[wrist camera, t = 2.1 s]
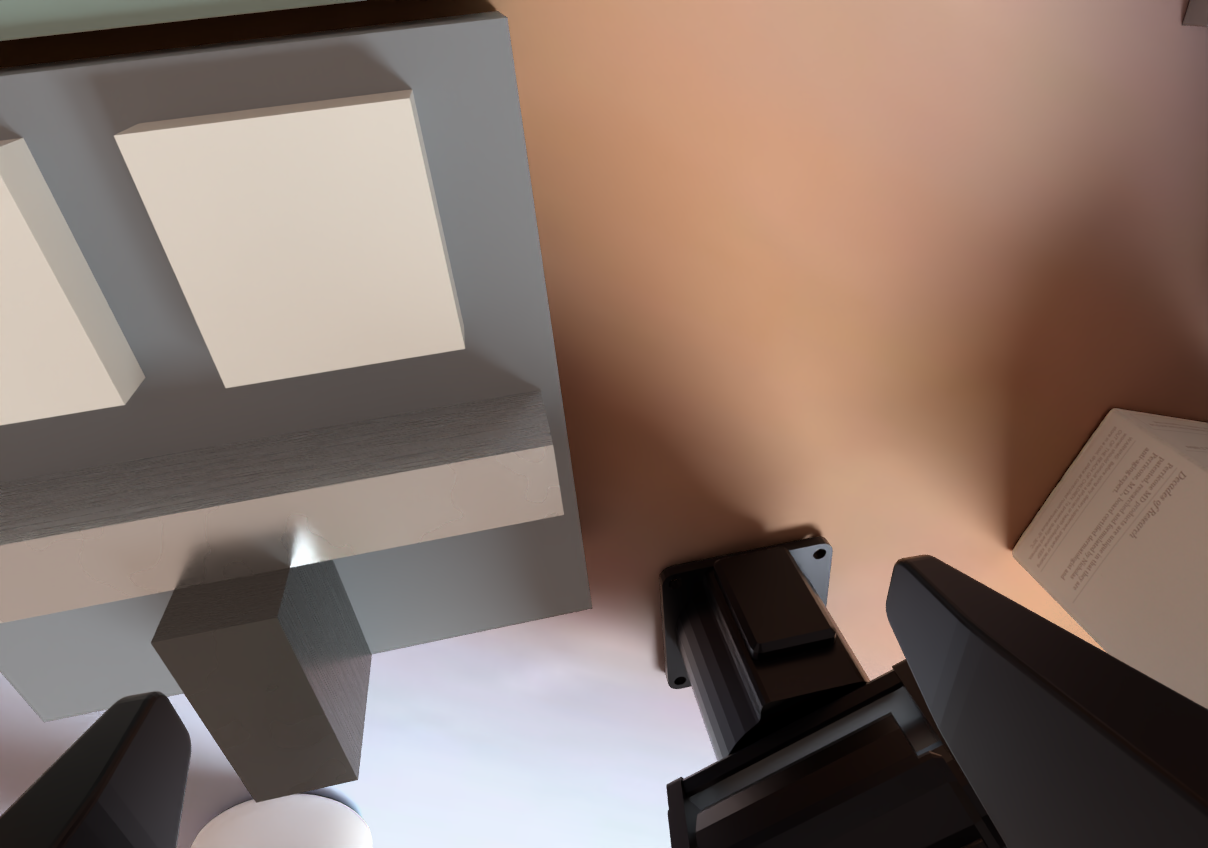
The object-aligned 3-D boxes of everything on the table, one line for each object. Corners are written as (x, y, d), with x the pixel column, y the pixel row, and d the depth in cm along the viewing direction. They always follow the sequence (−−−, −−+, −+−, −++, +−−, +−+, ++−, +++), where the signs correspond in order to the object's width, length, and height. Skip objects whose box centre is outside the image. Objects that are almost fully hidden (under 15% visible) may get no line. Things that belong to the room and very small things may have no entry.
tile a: (464, 325, 16) (465, 349, 15) (239, 362, 16) (225, 388, 15) (412, 89, 14) (409, 98, 13) (139, 123, 13) (113, 135, 12)
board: (577, 544, 25) (592, 608, 22) (88, 640, 23) (44, 722, 20) (497, 10, 16) (507, 17, 13) (-306, 102, 14) (-468, 130, 12)
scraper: (576, 611, 22) (599, 725, 19) (62, 718, 20) (-12, 863, 17) (540, 389, 18) (562, 486, 14) (-117, 503, 16) (-265, 641, 13)
